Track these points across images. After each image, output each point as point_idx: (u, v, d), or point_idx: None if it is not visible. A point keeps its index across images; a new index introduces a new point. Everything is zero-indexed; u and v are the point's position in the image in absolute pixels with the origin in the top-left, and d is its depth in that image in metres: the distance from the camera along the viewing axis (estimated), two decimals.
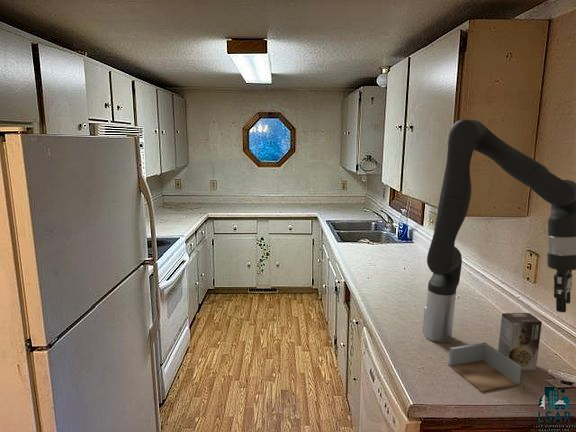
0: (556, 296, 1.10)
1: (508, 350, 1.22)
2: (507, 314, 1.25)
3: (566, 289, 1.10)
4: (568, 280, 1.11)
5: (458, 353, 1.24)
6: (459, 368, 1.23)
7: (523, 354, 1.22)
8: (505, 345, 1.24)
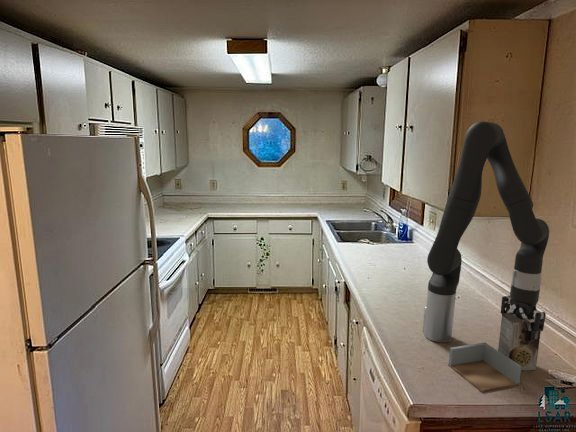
0: (537, 330, 1.17)
1: (508, 350, 1.22)
2: (507, 314, 1.25)
3: (535, 320, 1.20)
4: None
5: (458, 353, 1.24)
6: (459, 368, 1.23)
7: (523, 354, 1.22)
8: (505, 345, 1.24)
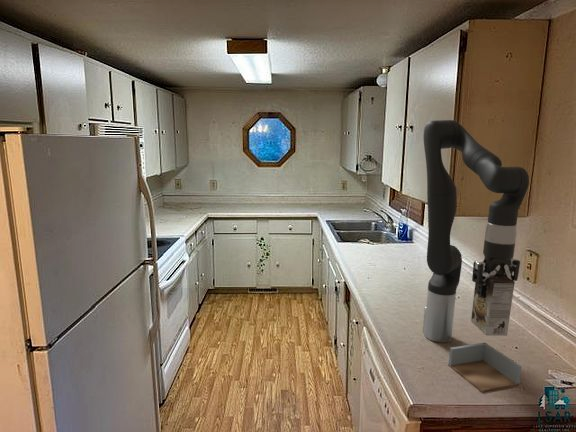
0: None
1: (507, 314, 1.11)
2: (495, 279, 1.09)
3: None
4: None
5: (458, 353, 1.24)
6: (459, 368, 1.23)
7: None
8: (502, 312, 1.10)
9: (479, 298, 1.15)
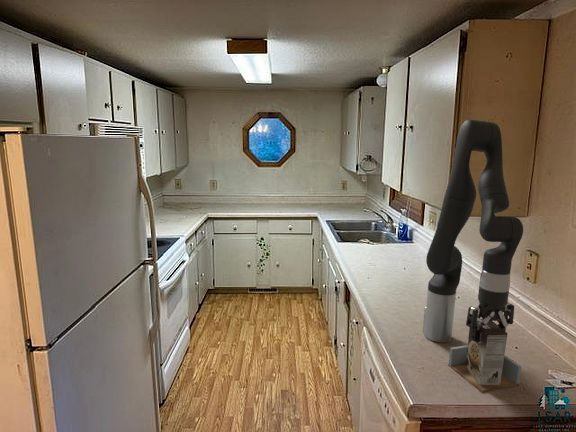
0: None
1: (500, 364, 1.13)
2: (489, 331, 1.12)
3: None
4: None
5: (458, 353, 1.24)
6: (459, 368, 1.23)
7: None
8: (495, 362, 1.13)
9: (473, 347, 1.18)
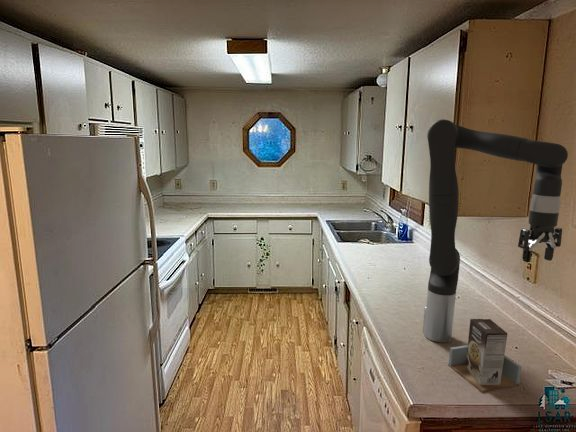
0: None
1: (500, 364, 1.13)
2: (489, 331, 1.12)
3: None
4: None
5: (458, 353, 1.24)
6: (459, 368, 1.23)
7: None
8: (495, 362, 1.13)
9: (473, 347, 1.18)
